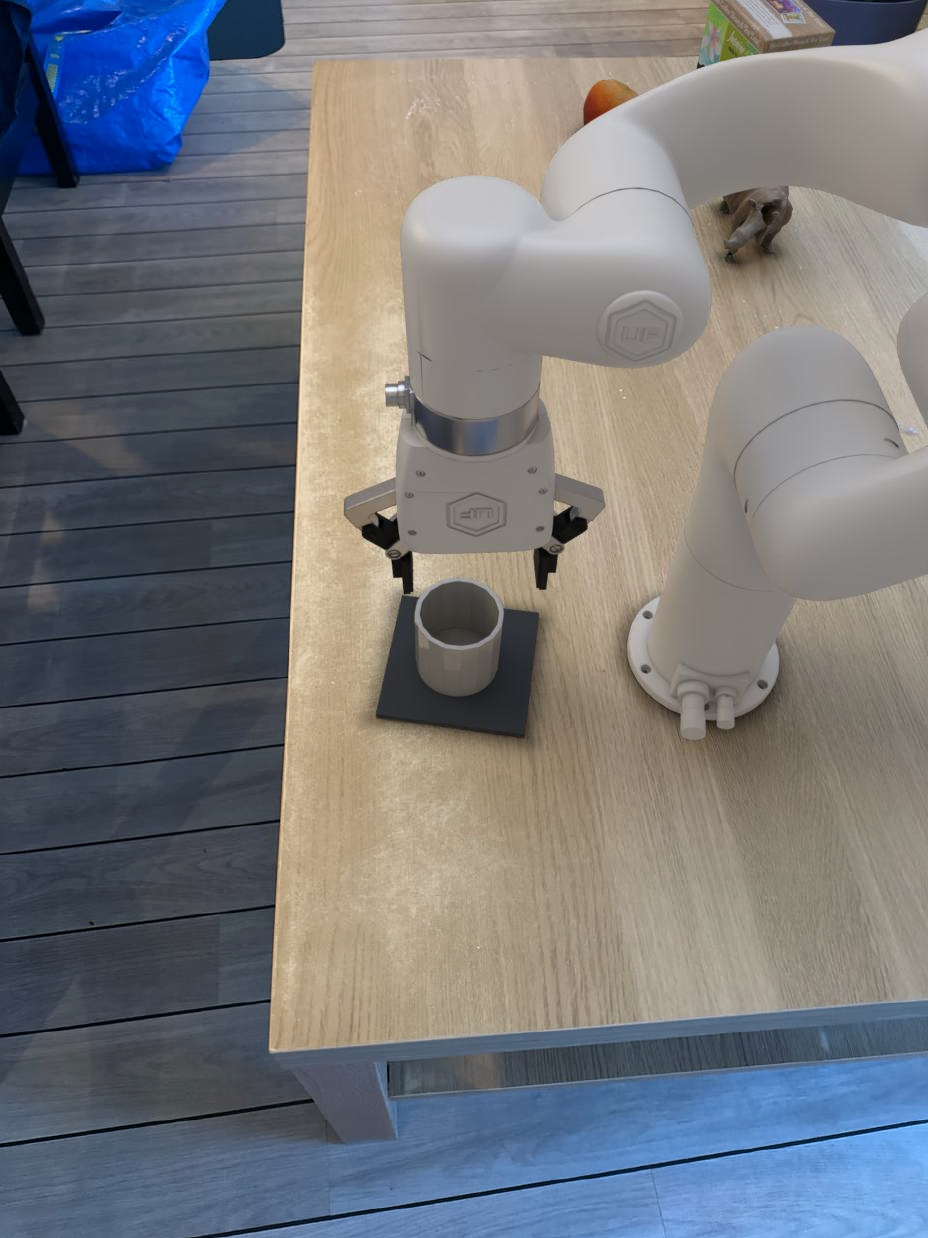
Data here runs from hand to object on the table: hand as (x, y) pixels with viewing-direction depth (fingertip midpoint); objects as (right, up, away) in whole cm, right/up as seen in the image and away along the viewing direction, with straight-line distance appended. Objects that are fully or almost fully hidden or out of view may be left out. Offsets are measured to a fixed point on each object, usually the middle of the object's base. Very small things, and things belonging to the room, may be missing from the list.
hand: (474, 576), depth 70 cm
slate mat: (-1, -7, +10) cm, 12 cm away
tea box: (+38, +65, +62) cm, 97 cm away
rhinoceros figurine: (+33, +42, +45) cm, 69 cm away
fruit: (+19, +62, +59) cm, 87 cm away
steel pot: (-1, -7, +9) cm, 12 cm away
